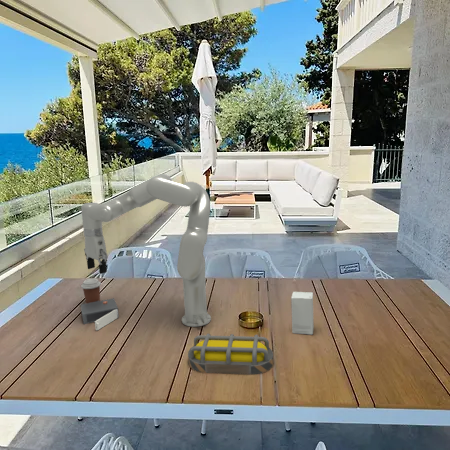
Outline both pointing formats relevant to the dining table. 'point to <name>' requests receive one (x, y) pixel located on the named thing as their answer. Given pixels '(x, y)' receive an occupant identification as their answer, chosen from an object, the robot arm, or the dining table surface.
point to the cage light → (230, 354)
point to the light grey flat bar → (106, 319)
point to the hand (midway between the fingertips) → (97, 270)
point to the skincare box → (302, 312)
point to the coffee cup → (91, 290)
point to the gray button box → (97, 310)
